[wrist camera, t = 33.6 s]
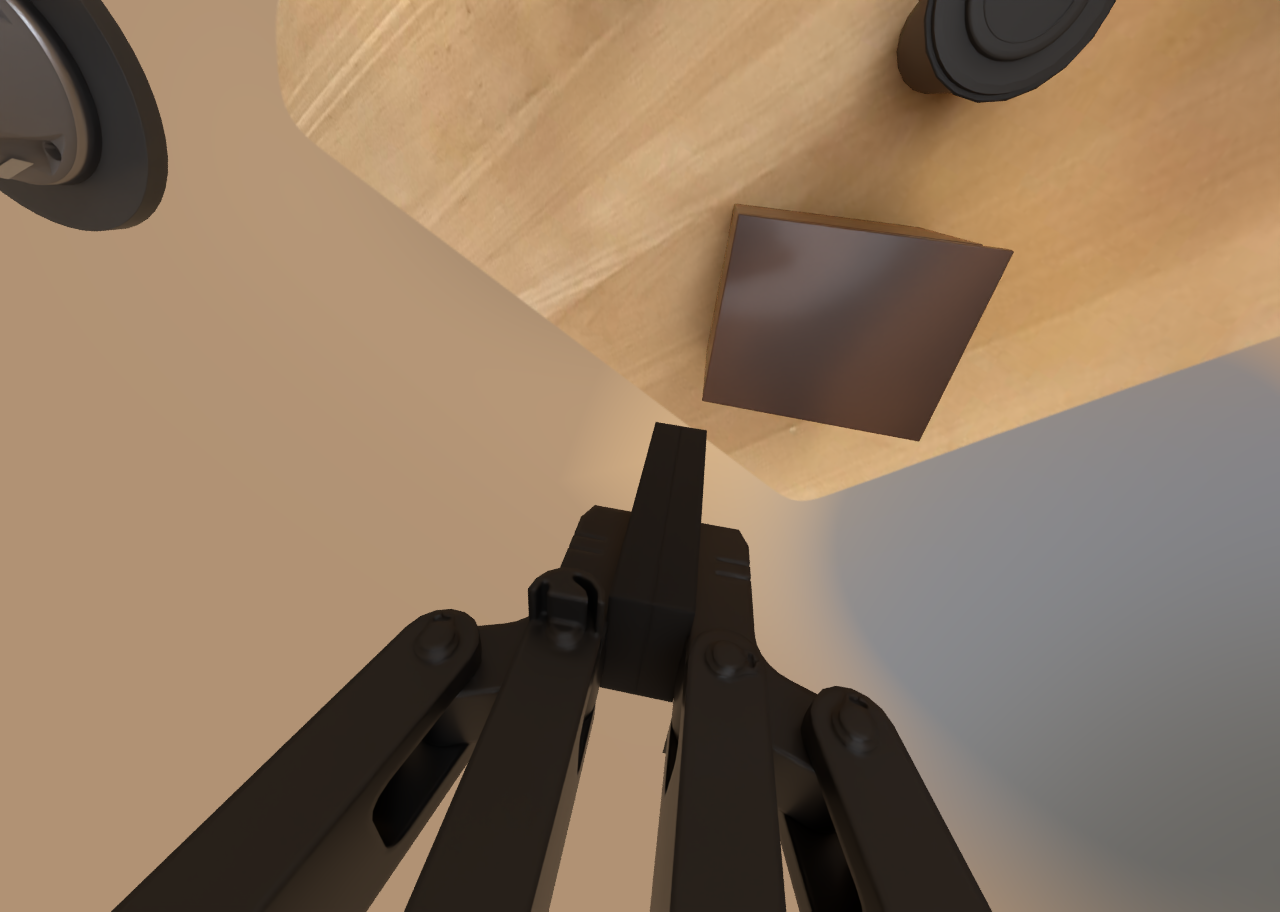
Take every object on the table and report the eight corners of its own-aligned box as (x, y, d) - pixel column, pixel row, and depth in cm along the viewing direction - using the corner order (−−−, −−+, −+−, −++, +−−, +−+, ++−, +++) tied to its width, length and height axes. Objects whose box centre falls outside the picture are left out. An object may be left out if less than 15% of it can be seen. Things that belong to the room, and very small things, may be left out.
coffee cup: (1048, 30, 28) (1191, -33, 19) (919, 150, 31) (991, 141, 23) (975, -98, 26) (1099, -232, 17) (846, 48, 29) (896, -3, 21)
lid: (1007, 249, 25) (1014, 251, 24) (915, 436, 31) (919, 442, 30) (738, 212, 26) (738, 213, 26) (702, 396, 33) (701, 401, 32)
